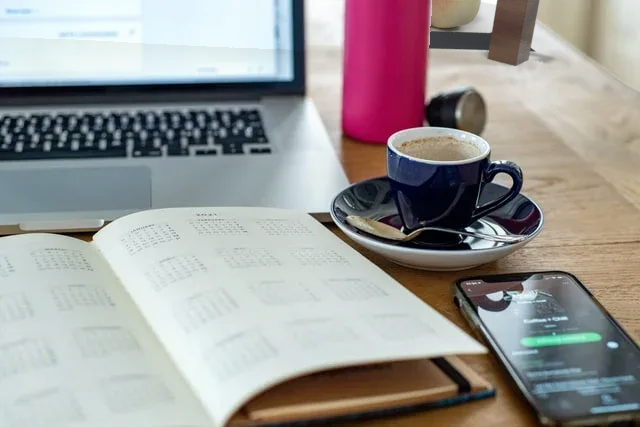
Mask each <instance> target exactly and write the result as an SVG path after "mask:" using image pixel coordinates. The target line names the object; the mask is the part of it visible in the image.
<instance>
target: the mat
mask: <svg viewBox="0 0 640 427" xmlns="http://www.w3.org/2000/svg"><path fill="white" fill-rule="evenodd" d="M430 31H431V32H430V45H429V49H431V50H438V49H439V50H464V51H466V50H467V51H489V47H490V41H491V35H492V32H477V31H475V32H473V31H446V30H445V31H444V30H443V31H442V30H430ZM429 49H428V50H429ZM530 52H535V53H536V50H534V49H533V47H531V49H530Z"/></svg>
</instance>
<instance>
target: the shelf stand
mask: <svg viewBox="0 0 640 427" xmlns="http://www.w3.org/2000/svg"><path fill="white" fill-rule="evenodd" d="M539 5H540V0H496V6H495V10H494V18H493V23H492V29H491V33H492V35H491V41H490V47H489V50H488V54H487V60H490V61H493V62H498V63H501V64H505V65H510V66H513V67H517V66H519V65H521V64H523V63H525V62H528V61H529V58H530V54H531V51H530V49H531V48H532V43H533V38H534V31H535V26H536V21H537V17H538V16H537V15H538V10H539Z"/></svg>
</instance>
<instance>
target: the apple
mask: <svg viewBox="0 0 640 427" xmlns="http://www.w3.org/2000/svg"><path fill="white" fill-rule="evenodd" d="M481 3H482V1H481V0H432V16H431V24H430V25H431V26H433V27H435V28H437V29H445V28H446V29H447V28H454V27H460V26H465V25H467V24H470V23H471V22H472V21H474V20H475V18H476V17H477V15H478V13H479V11H480V7H481Z"/></svg>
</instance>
